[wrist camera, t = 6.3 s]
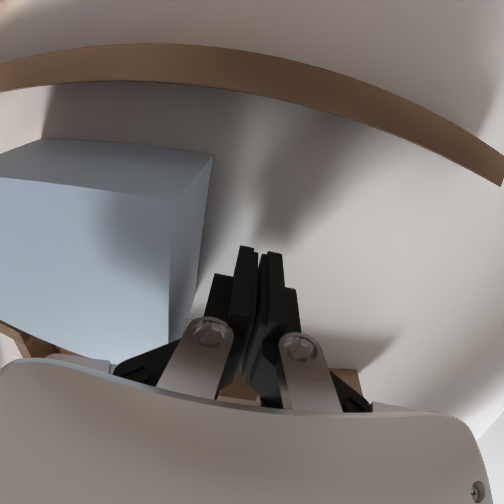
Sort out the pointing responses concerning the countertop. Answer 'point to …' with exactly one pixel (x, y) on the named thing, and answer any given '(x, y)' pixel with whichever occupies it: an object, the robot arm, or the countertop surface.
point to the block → (101, 243)
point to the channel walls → (258, 83)
